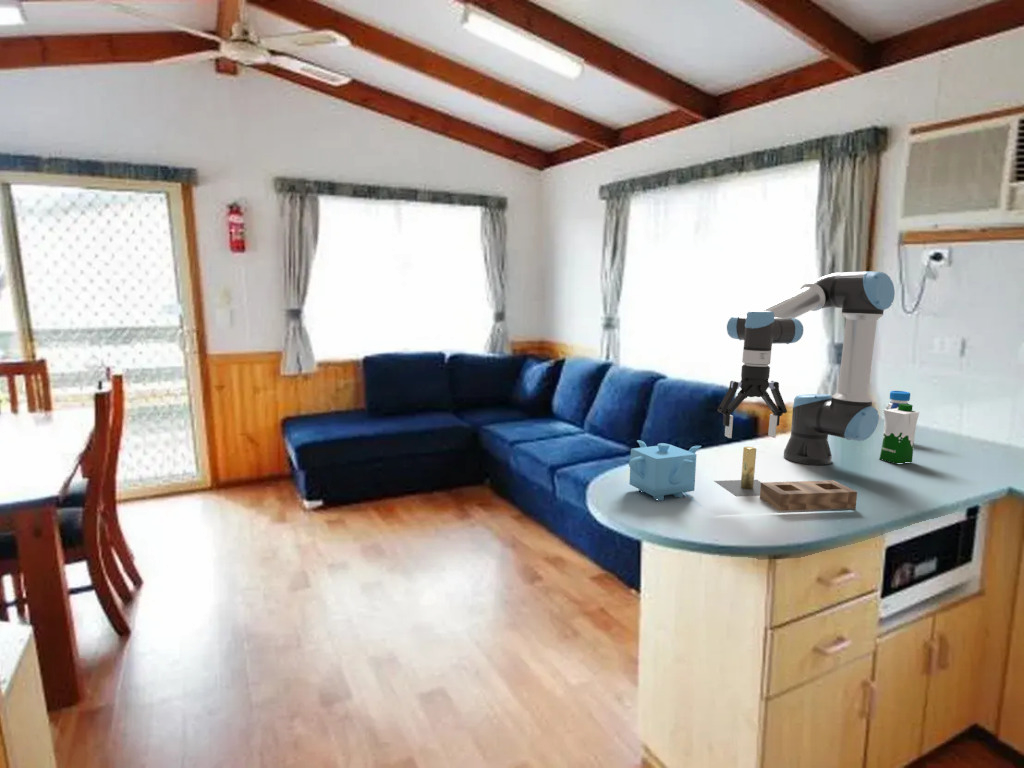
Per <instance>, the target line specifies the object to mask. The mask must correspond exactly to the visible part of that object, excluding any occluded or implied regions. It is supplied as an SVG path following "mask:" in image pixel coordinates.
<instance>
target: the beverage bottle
mask: <svg viewBox="0 0 1024 768" xmlns="http://www.w3.org/2000/svg"><path fill="white" fill-rule="evenodd" d="M889 400H890V401H889V402H888V404H887V405H886V407H885V408H886V409H885V410H888V409H896V408H899V404H909V402H910V401H911V392H910V391H909V392H908V391H904V390H891V391H890V392H889Z"/></svg>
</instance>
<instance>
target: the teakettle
mask: <svg viewBox="0 0 1024 768" xmlns="http://www.w3.org/2000/svg"><path fill="white" fill-rule="evenodd" d="M636 442H637V443H638V444H639V447H634V448H631V449H630V460H629V461H628V466H629V483H628V484H629V485H630V486H632V487H634V488H636V489H638V490H639V491H642V492H646V493H645V494H647V495H650V496H652V497H653V498H654V499H658V500H663V499H664V500H665V496H669V495H673V496H674V497H675V496H676V497H675V498H679V497H683V498H684V496H685V495H684V493H689V492H694V491H695V487H696V485H695V484H696V470H697V454H696V452H697V451H698V450H699V449H700V448H701V447H702V445H694V446H691V447H690V448H689V450H686V449H683V448H681V447H677V446H675V445H672V444H669V443H664V442H661V443H657V445H652V446H647V444H646V443H645V441H643V440H639V439H638V440H636ZM639 491H638V492H639ZM654 499H653V500H654ZM664 500H663V501H664Z"/></svg>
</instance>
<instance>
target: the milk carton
mask: <svg viewBox="0 0 1024 768" xmlns="http://www.w3.org/2000/svg"><path fill="white" fill-rule="evenodd" d="M913 407H914V405H913V404H909V403H908V404H899V408H896V409H888V410H887V409H883V410H882V411H883V417H884V426H883V433H882V434H883V435H882V443H881V450H880V454H879V459H883V460H886V461H885V462H887V461H890V462H894V463H905V462H912V463H913V456H914V455H913V454H914V445H915V435H916V429H917V422H918V418H919V415H920V412H919V411H916V410H913ZM883 460H882V461H883ZM890 462H889V463H890ZM894 463H893V464H894Z"/></svg>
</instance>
